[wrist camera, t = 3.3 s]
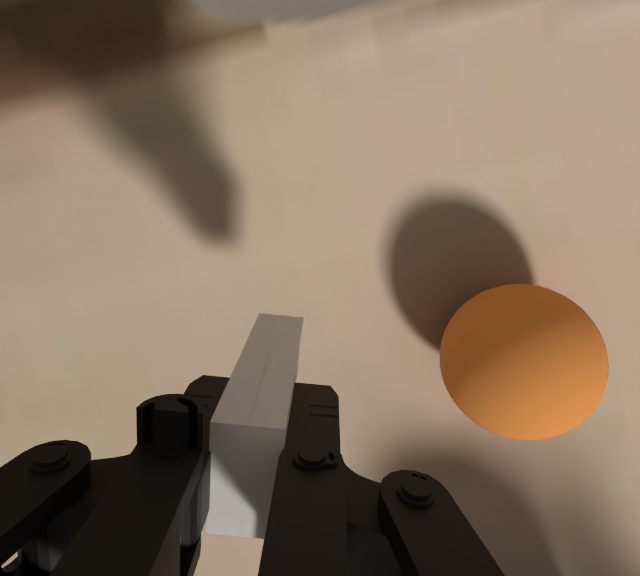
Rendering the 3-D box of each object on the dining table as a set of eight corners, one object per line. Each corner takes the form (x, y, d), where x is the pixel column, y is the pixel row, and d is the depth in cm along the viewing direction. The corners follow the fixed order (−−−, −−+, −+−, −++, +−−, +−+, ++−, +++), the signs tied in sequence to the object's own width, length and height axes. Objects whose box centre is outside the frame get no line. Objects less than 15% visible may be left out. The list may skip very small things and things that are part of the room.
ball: (416, 386, 22) (450, 467, 16) (436, 262, 20) (482, 302, 14) (541, 397, 22) (621, 482, 16) (571, 275, 20) (671, 320, 14)
